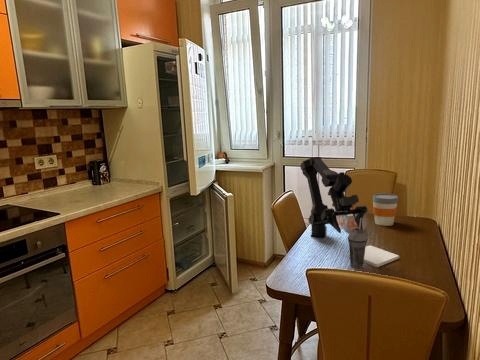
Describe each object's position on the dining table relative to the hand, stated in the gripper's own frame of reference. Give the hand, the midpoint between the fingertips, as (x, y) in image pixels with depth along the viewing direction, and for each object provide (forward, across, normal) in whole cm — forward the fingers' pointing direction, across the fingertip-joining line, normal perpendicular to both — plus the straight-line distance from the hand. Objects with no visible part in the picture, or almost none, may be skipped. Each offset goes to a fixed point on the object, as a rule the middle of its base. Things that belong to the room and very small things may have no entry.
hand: (350, 231), depth 138 cm
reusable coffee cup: (-19, +41, +37) cm, 58 cm away
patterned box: (-20, +20, +38) cm, 47 cm away
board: (+8, +11, +10) cm, 17 cm away
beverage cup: (+13, 0, +6) cm, 14 cm away
